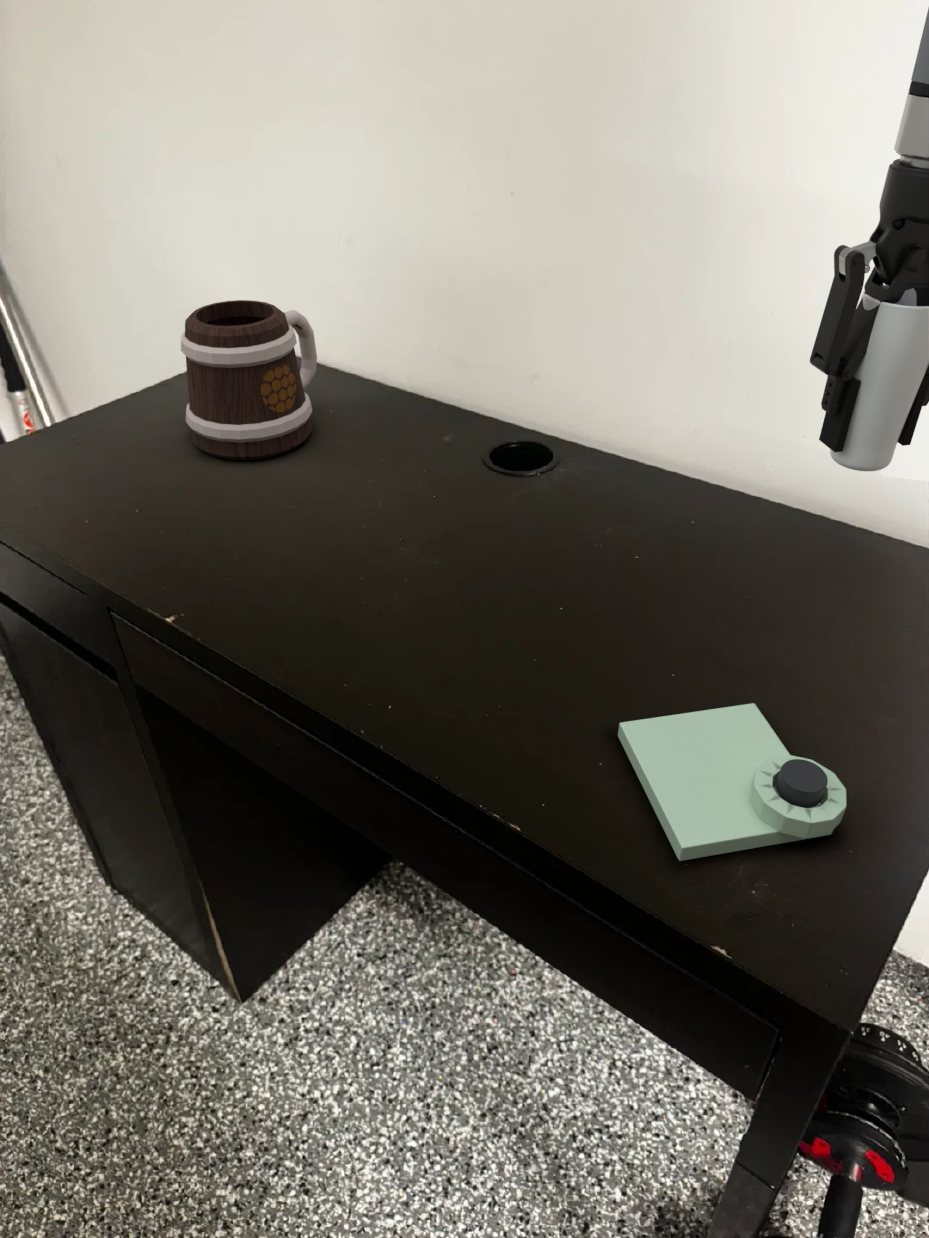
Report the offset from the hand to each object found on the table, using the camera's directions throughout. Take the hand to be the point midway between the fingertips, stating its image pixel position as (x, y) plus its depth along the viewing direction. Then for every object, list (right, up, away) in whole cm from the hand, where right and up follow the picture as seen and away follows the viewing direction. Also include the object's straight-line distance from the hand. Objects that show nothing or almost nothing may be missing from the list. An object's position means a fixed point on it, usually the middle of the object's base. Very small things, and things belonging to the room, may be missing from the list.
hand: (864, 441), depth 81 cm
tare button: (-14, -28, -21) cm, 38 cm away
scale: (-18, -28, -17) cm, 37 cm away
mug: (-61, +7, +30) cm, 68 cm away
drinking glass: (0, -2, +1) cm, 2 cm away
